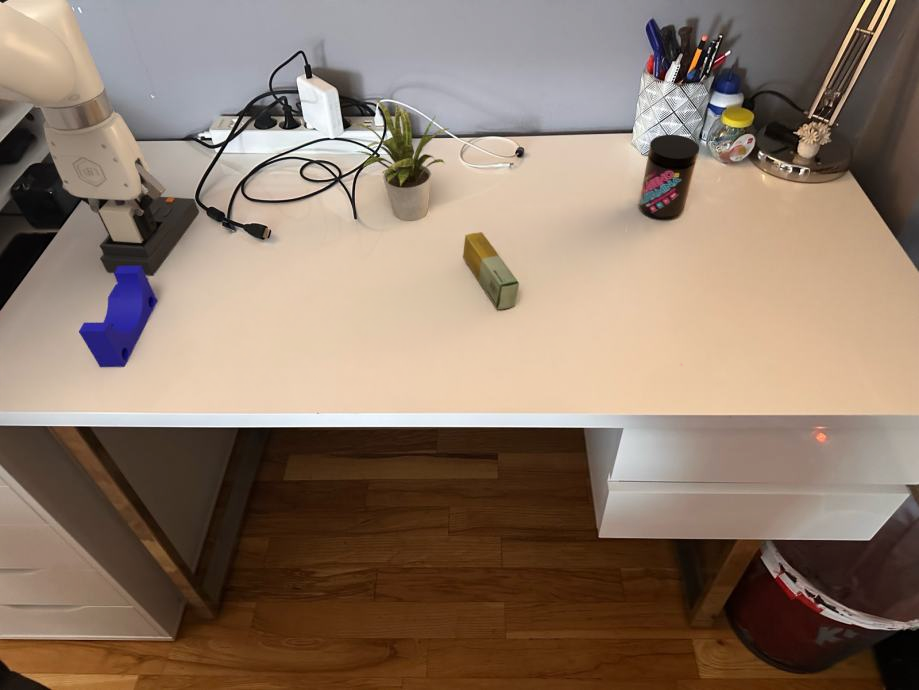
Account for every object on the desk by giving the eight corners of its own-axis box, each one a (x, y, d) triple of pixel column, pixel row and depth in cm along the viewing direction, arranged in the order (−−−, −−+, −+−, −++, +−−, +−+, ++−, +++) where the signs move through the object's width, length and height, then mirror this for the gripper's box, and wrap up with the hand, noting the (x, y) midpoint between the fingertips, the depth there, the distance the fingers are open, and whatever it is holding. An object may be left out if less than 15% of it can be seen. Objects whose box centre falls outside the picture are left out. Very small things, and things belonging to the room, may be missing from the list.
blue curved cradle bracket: (124, 301, 90) (106, 266, 86) (157, 300, 90) (141, 265, 86) (87, 366, 82) (65, 331, 77) (124, 366, 81) (104, 331, 77)
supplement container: (631, 199, 104) (642, 137, 96) (673, 194, 104) (687, 132, 97) (647, 224, 99) (660, 161, 91) (691, 219, 100) (707, 155, 92)
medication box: (516, 307, 87) (520, 283, 84) (497, 311, 86) (501, 287, 83) (479, 253, 95) (481, 230, 92) (461, 257, 94) (463, 233, 91)
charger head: (113, 241, 93) (96, 207, 89) (127, 223, 96) (112, 189, 92) (141, 243, 93) (125, 208, 89) (155, 225, 96) (140, 191, 92)
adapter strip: (106, 272, 94) (95, 249, 92) (157, 209, 105) (148, 187, 102) (153, 275, 94) (142, 252, 91) (199, 212, 104) (191, 189, 102)
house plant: (340, 204, 105) (322, 104, 93) (414, 174, 110) (405, 76, 99) (390, 248, 97) (377, 144, 85) (466, 213, 102) (464, 111, 91)
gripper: (-5, 120, 80) (64, 245, 93) (127, 126, 78) (178, 253, 91) (32, 92, 85) (92, 214, 98) (156, 97, 83) (201, 221, 96)
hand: (133, 231), depth 94 cm, fingers closed on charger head, 4 cm apart
